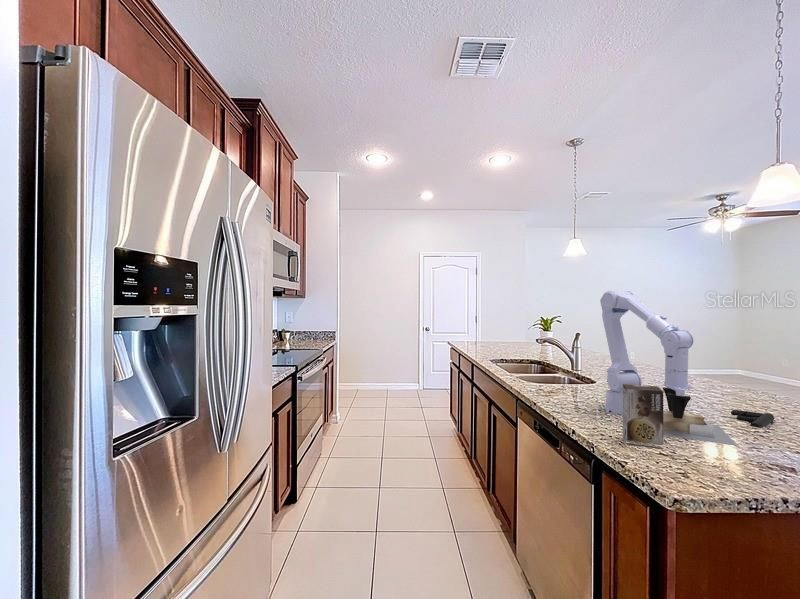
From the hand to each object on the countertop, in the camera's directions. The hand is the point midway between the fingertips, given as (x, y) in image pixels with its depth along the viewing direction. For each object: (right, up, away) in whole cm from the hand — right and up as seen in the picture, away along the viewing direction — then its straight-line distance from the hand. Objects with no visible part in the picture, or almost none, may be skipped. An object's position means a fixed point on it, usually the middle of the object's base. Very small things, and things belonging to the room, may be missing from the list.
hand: (675, 414), depth 121 cm
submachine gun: (+32, -7, +14) cm, 36 cm away
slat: (0, -5, 0) cm, 5 cm away
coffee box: (-15, -6, -8) cm, 18 cm away
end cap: (+5, -5, -3) cm, 7 cm away
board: (+4, -6, 0) cm, 7 cm away
